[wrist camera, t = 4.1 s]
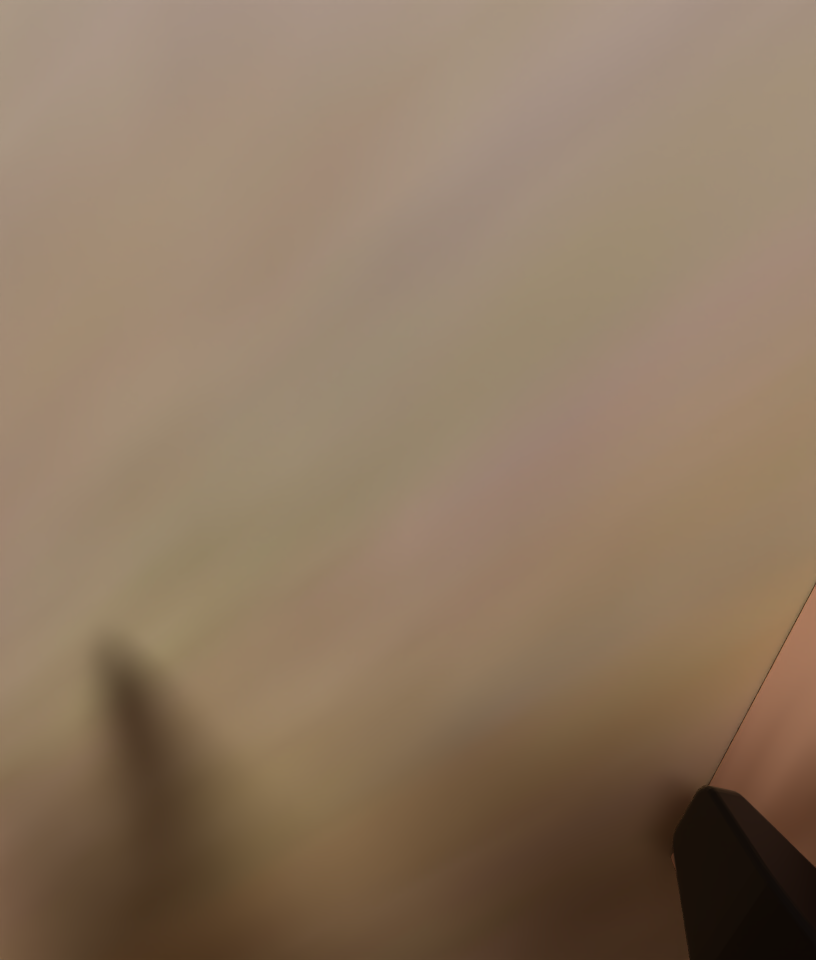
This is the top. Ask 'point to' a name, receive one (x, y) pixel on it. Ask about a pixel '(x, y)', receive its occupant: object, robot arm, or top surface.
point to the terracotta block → (781, 741)
